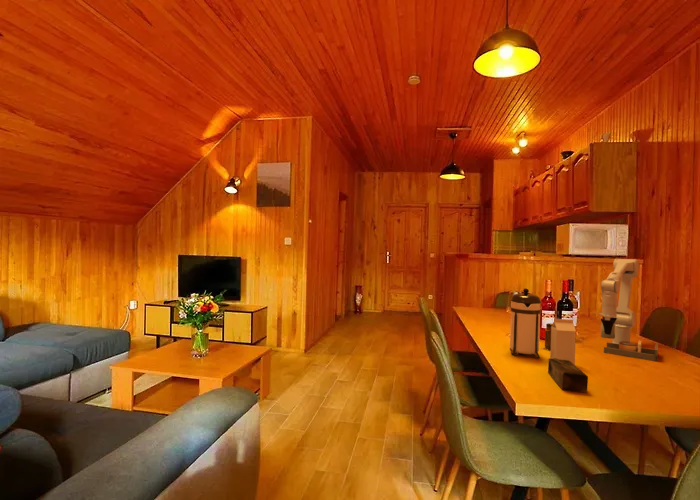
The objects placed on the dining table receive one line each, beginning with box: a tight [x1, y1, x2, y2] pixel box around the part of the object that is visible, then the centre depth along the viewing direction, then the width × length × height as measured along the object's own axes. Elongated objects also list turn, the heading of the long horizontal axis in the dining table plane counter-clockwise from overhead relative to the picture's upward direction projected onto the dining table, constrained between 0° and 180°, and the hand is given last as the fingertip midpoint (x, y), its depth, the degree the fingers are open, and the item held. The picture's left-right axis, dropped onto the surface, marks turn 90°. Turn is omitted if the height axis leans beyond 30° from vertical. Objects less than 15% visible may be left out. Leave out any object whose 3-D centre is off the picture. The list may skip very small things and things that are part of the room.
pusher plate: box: [637, 339, 643, 353], centre depth 173 cm, size 10×1×6 cm, turn 140°
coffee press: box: [509, 288, 542, 359], centre depth 172 cm, size 17×16×30 cm
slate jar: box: [600, 322, 615, 340], centre depth 181 cm, size 6×6×7 cm
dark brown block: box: [547, 358, 589, 394], centre depth 136 cm, size 8×19×7 cm, turn 166°
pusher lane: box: [603, 341, 659, 362], centre depth 175 cm, size 13×20×5 cm, turn 50°
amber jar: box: [619, 341, 638, 352], centre depth 176 cm, size 7×7×5 cm
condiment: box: [541, 322, 553, 351], centre depth 180 cm, size 7×8×12 cm
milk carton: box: [549, 318, 577, 366], centre depth 156 cm, size 7×7×19 cm
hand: (608, 333), depth 181 cm, fingers closed on slate jar, 6 cm apart
